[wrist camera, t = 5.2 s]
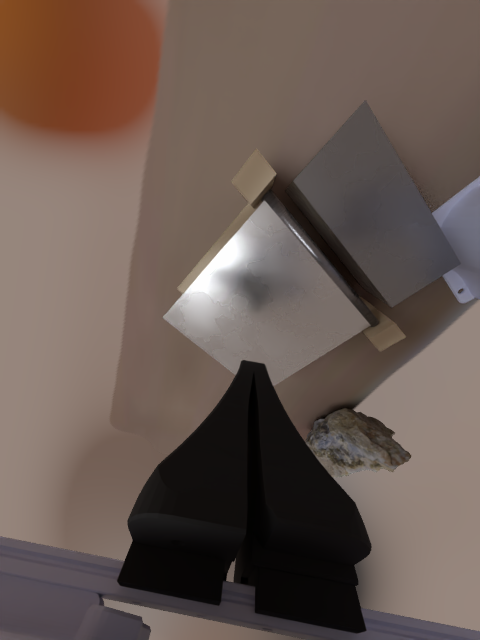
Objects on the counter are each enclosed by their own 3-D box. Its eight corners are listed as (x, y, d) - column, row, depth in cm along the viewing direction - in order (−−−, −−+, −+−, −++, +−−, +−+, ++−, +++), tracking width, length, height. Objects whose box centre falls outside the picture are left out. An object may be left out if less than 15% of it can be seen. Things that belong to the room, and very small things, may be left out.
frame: (369, 306, 19) (406, 337, 14) (274, 370, 24) (277, 408, 19) (257, 171, 15) (256, 148, 10) (170, 280, 20) (140, 301, 15)
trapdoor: (417, 258, 16) (465, 271, 12) (261, 367, 23) (261, 397, 19) (328, 125, 13) (357, 86, 9) (179, 298, 20) (159, 317, 16)
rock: (424, 475, 17) (401, 435, 25) (379, 406, 19) (372, 390, 28) (308, 497, 21) (321, 456, 30) (282, 438, 23) (302, 415, 32)
